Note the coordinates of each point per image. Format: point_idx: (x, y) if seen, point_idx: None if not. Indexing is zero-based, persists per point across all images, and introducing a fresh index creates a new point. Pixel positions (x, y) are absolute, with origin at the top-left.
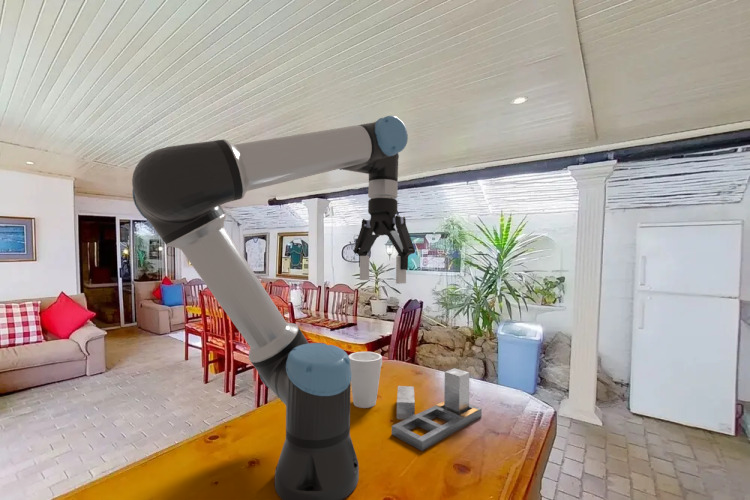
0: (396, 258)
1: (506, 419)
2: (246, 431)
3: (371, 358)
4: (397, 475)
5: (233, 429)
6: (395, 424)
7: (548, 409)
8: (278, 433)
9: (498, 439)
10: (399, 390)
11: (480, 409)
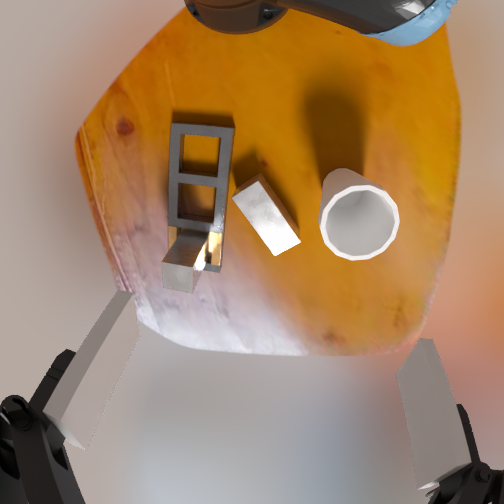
0: (65, 407)
1: (148, 268)
2: None
3: (360, 247)
4: (168, 59)
5: None
6: (231, 135)
7: None
8: None
9: (128, 215)
10: (285, 225)
11: None
